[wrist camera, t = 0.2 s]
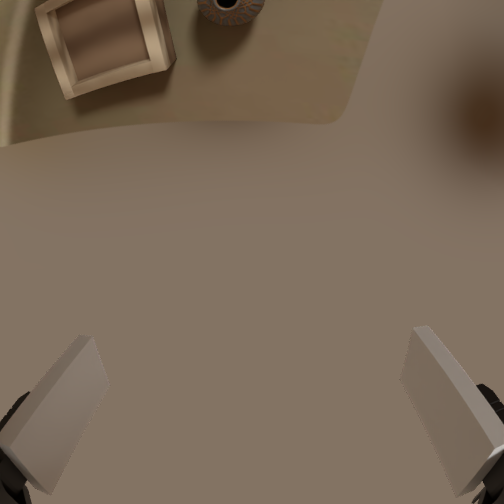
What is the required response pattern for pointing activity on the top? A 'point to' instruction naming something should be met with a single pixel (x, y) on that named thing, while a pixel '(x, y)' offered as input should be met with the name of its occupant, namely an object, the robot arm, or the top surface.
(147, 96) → the top surface
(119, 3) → the square wooden tray
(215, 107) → the top surface
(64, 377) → the robot arm
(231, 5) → the vase
